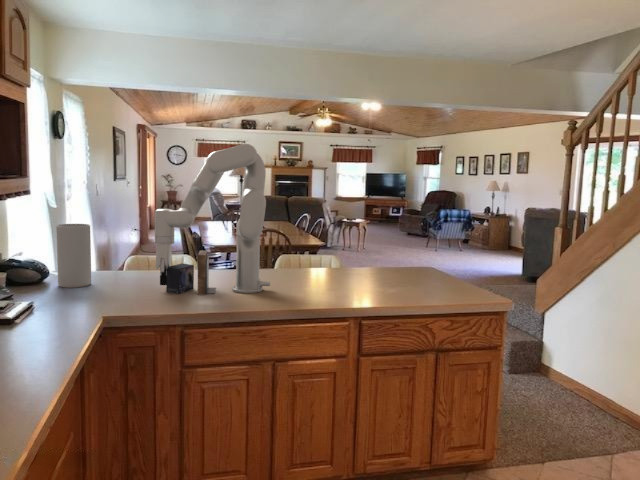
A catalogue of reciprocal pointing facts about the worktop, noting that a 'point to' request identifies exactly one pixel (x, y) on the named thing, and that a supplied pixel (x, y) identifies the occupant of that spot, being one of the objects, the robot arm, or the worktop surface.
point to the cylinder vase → (73, 255)
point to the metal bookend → (207, 289)
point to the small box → (180, 278)
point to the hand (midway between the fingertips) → (164, 284)
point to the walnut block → (201, 271)
